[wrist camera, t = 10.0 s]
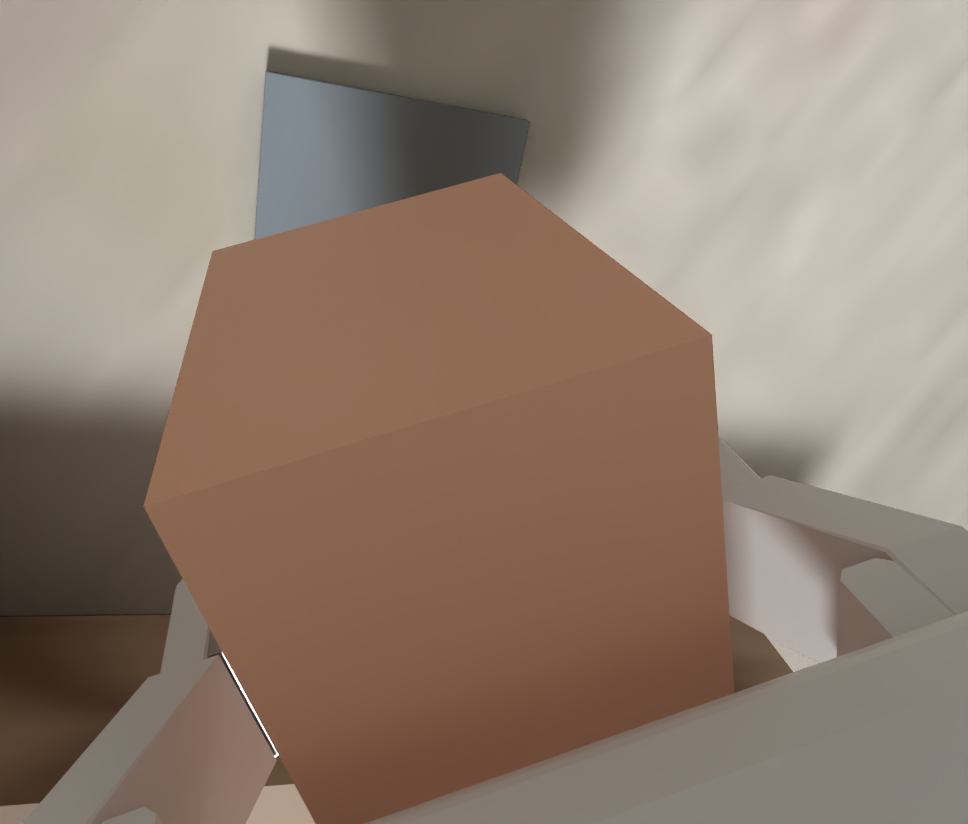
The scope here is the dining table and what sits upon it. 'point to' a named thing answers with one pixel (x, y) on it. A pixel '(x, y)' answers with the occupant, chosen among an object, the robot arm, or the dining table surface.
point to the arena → (280, 207)
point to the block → (445, 495)
